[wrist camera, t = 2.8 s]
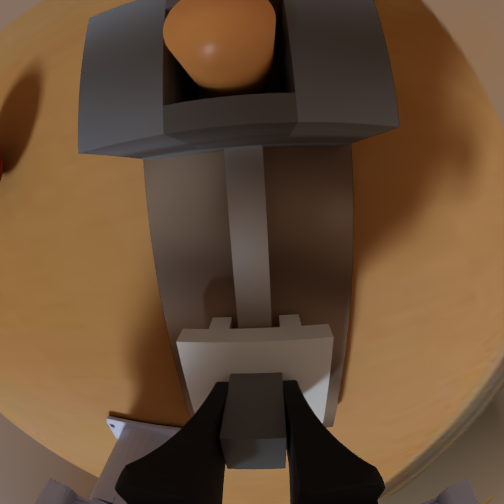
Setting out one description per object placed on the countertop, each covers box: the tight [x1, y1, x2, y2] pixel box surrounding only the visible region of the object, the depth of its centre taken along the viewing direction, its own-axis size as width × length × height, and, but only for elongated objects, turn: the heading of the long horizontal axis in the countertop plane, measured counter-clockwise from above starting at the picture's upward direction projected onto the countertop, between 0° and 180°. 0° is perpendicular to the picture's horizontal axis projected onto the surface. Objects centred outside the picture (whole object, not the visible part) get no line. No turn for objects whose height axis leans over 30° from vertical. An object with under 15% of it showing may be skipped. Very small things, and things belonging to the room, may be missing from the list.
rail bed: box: [78, 0, 399, 427], centre depth 12 cm, size 23×10×8 cm, turn 4°
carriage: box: [176, 314, 334, 469], centre depth 12 cm, size 6×7×6 cm
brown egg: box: [163, 0, 276, 98], centre depth 6 cm, size 3×3×4 cm
